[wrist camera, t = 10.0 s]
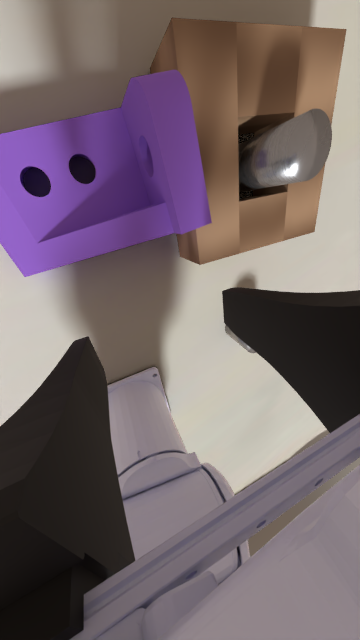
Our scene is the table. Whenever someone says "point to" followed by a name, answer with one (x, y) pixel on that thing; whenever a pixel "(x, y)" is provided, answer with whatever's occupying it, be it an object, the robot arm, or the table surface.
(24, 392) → the table surface
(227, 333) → the short pin
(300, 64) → the hole block
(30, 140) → the bracket
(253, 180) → the tall pin
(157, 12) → the table surface
